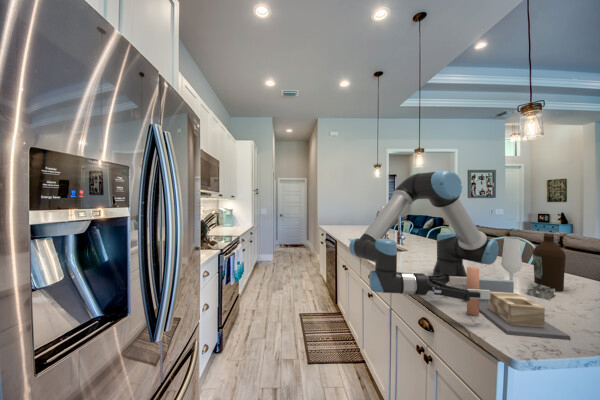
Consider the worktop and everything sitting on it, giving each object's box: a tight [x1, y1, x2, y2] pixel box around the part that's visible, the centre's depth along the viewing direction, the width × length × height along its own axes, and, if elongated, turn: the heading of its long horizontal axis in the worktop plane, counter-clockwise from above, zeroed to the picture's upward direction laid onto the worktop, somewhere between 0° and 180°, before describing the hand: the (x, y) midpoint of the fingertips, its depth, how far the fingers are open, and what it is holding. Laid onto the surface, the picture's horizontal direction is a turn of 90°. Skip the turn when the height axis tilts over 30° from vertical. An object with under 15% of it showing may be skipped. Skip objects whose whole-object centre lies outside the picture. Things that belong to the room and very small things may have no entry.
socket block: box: [488, 292, 546, 327], centre depth 81 cm, size 12×9×6 cm
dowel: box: [466, 266, 480, 317], centre depth 86 cm, size 4×4×16 cm
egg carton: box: [525, 282, 556, 300], centre depth 104 cm, size 11×8×4 cm
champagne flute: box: [500, 237, 523, 282], centre depth 102 cm, size 7×7×24 cm
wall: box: [463, 277, 515, 301], centre depth 95 cm, size 2×16×8 cm, turn 81°
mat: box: [464, 300, 571, 340], centre depth 84 cm, size 26×16×1 cm, turn 171°
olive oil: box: [532, 232, 567, 292], centre depth 113 cm, size 11×11×25 cm
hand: (478, 287), depth 85 cm, fingers open, 13 cm apart
